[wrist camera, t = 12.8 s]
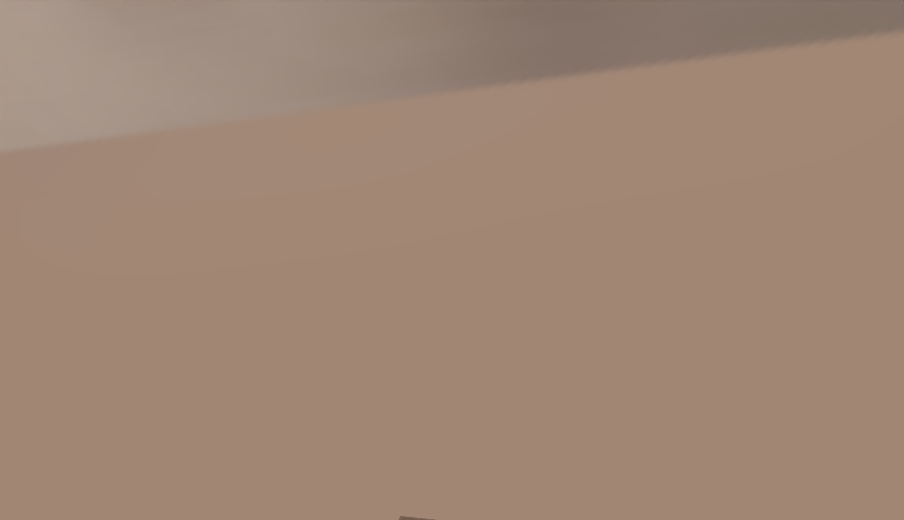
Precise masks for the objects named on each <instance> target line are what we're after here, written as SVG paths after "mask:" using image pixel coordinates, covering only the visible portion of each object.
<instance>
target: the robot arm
mask: <svg viewBox="0 0 904 520" xmlns="http://www.w3.org/2000/svg"><path fill="white" fill-rule="evenodd" d="M399 520H432V519H423V518H413V517H404V516H400V518H399Z"/></svg>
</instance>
